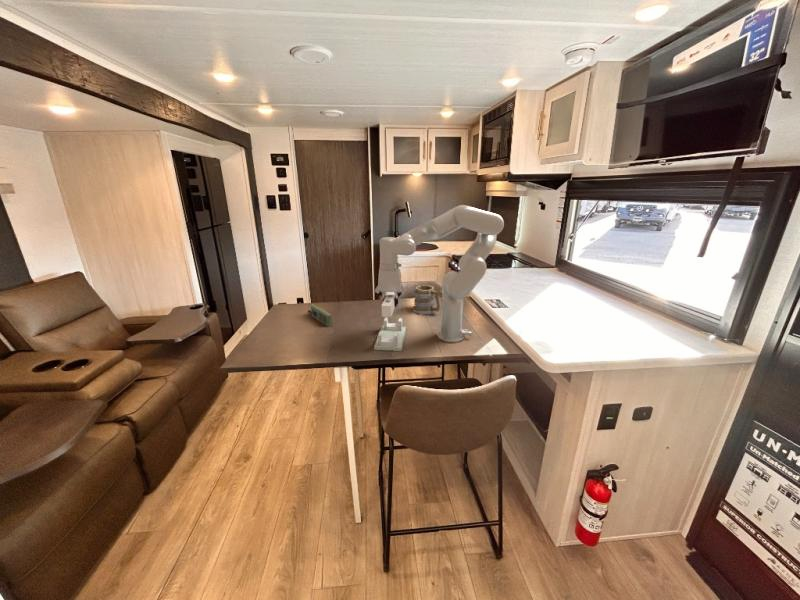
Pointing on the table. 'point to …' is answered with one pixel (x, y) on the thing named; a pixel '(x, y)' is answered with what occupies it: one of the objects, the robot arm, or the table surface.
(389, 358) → the table surface
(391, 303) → the power strip
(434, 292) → the tankard
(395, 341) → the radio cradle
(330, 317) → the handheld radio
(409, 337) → the table surface
